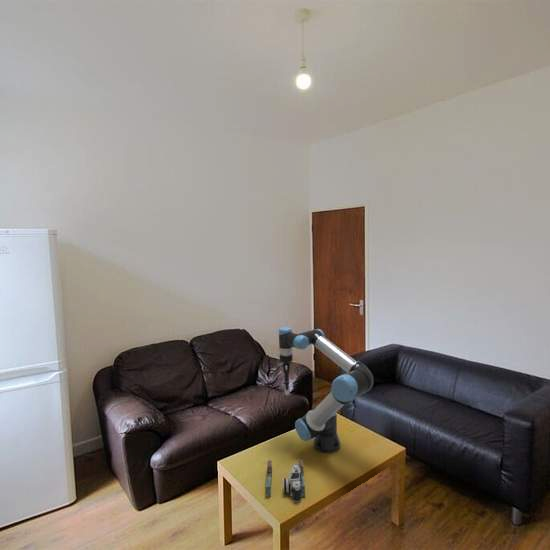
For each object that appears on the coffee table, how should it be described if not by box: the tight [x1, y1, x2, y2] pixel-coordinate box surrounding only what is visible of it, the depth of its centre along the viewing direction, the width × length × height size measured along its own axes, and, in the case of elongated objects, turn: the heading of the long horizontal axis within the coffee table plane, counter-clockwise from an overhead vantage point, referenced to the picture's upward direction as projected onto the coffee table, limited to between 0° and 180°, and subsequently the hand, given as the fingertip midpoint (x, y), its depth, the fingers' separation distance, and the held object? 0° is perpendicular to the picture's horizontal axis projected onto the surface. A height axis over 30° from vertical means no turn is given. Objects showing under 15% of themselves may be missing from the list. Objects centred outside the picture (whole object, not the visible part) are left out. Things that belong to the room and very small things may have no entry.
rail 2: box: [298, 459, 306, 497], centre depth 177 cm, size 2×20×5 cm, turn 179°
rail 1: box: [265, 459, 273, 498], centre depth 177 cm, size 2×20×5 cm, turn 179°
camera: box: [282, 464, 302, 503], centre depth 171 cm, size 16×9×10 cm, turn 179°
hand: (286, 389), depth 210 cm, fingers open, 13 cm apart
